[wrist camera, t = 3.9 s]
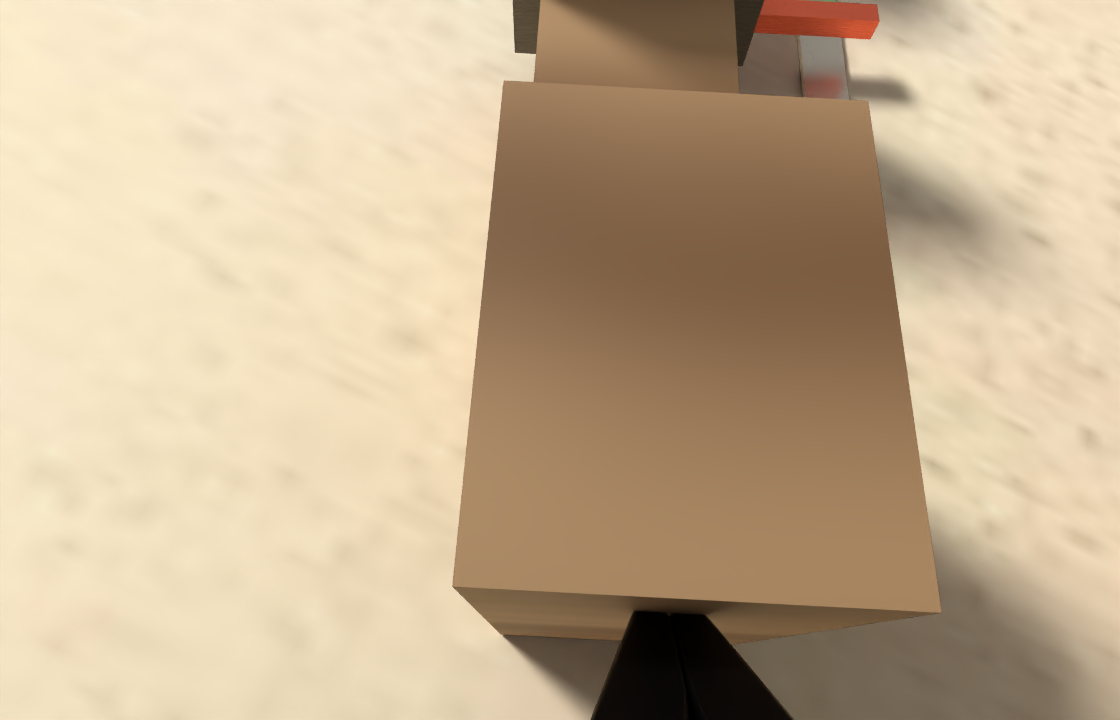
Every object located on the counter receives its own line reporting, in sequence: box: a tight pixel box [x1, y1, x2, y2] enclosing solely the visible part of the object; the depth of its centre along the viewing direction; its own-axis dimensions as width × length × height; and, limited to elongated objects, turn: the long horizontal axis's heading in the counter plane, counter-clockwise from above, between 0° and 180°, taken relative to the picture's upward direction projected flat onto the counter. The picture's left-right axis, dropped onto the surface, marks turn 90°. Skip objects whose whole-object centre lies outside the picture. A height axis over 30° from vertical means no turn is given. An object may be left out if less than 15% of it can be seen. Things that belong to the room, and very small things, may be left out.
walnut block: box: [452, 0, 942, 645], centre depth 14 cm, size 14×4×9 cm, turn 177°
